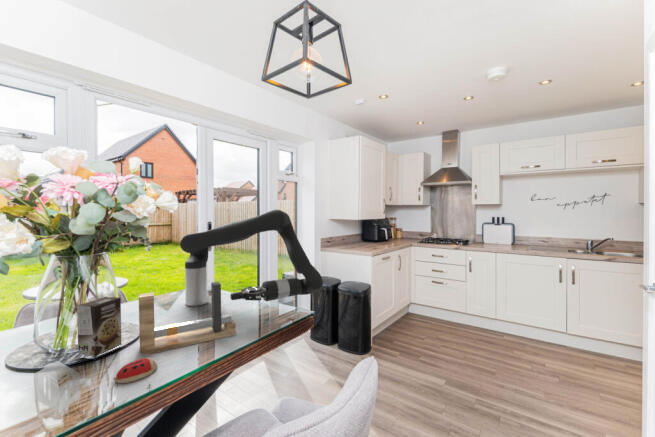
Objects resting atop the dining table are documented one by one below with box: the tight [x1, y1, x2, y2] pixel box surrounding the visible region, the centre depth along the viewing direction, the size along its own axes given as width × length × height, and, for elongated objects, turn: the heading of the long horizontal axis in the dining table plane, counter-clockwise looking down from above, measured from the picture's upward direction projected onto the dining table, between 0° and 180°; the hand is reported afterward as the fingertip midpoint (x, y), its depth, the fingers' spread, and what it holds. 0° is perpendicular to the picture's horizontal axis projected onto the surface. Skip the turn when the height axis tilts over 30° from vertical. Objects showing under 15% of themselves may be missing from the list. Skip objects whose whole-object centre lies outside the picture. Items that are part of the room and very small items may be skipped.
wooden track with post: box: [138, 292, 237, 355], centre depth 99 cm, size 9×29×17 cm, turn 122°
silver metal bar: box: [154, 313, 233, 338], centre depth 100 cm, size 3×26×3 cm, turn 122°
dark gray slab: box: [210, 281, 222, 332], centre depth 104 cm, size 5×2×16 cm, turn 32°
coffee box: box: [77, 296, 122, 357], centre depth 90 cm, size 9×6×16 cm
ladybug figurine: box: [113, 357, 158, 384], centre depth 78 cm, size 7×10×4 cm
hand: (231, 296), depth 107 cm, fingers closed
